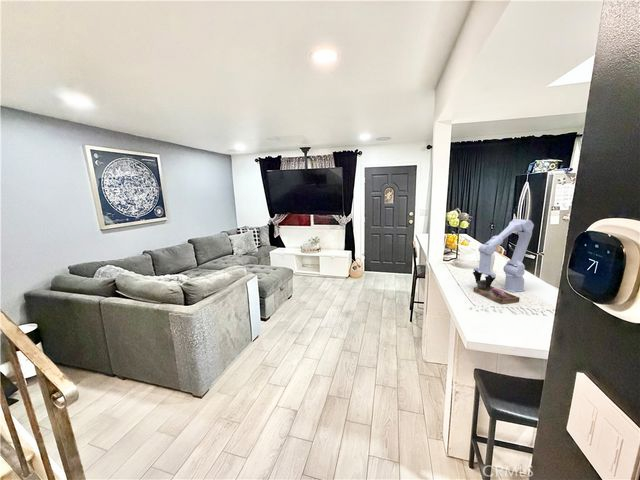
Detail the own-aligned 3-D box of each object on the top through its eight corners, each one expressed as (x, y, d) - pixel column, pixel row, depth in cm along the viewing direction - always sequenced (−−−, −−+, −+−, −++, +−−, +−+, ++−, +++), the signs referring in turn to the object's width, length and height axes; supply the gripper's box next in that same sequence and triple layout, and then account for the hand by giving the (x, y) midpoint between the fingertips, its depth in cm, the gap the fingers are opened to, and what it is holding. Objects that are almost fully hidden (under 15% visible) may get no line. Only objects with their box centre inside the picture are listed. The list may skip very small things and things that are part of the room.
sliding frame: (472, 291, 159) (473, 281, 158) (488, 289, 161) (489, 279, 160) (501, 304, 140) (502, 292, 139) (519, 301, 142) (520, 290, 141)
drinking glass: (491, 272, 194) (493, 253, 191) (494, 275, 187) (496, 255, 185) (481, 272, 196) (483, 253, 193) (483, 274, 190) (485, 255, 187)
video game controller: (491, 297, 153) (487, 287, 152) (498, 293, 153) (494, 284, 152) (504, 304, 143) (500, 294, 142) (511, 300, 143) (507, 290, 142)
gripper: (470, 261, 162) (468, 281, 164) (489, 267, 148) (487, 290, 150) (479, 260, 163) (477, 280, 166) (499, 266, 149) (497, 288, 152)
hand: (482, 285), depth 158 cm, fingers open, 7 cm apart
